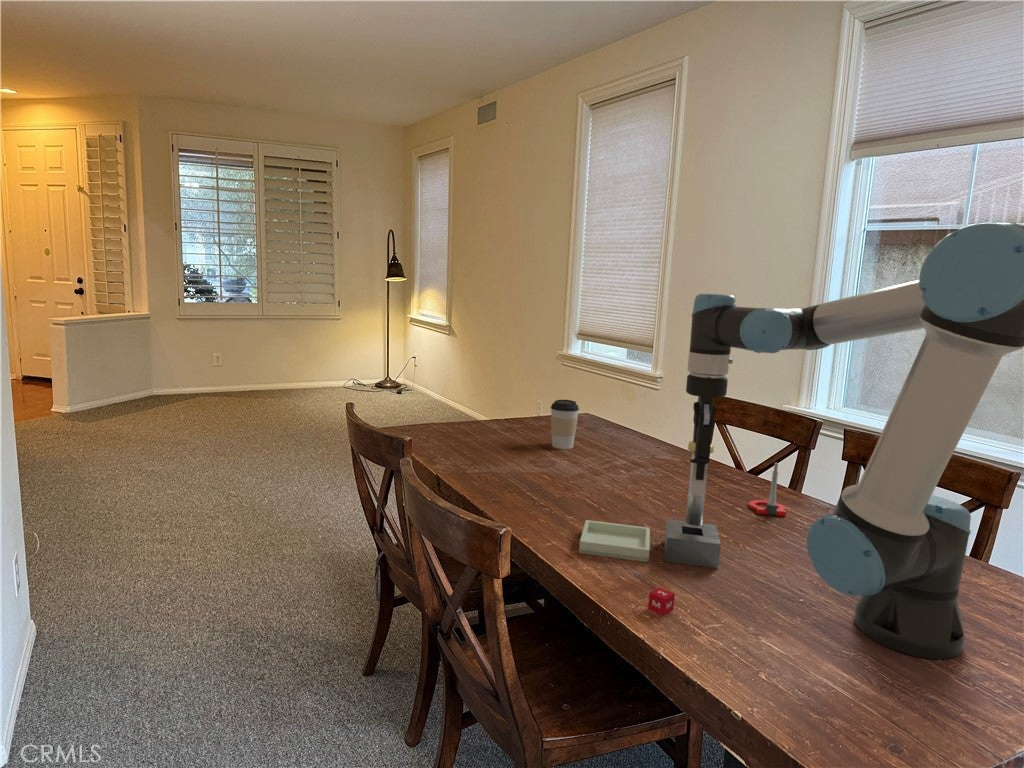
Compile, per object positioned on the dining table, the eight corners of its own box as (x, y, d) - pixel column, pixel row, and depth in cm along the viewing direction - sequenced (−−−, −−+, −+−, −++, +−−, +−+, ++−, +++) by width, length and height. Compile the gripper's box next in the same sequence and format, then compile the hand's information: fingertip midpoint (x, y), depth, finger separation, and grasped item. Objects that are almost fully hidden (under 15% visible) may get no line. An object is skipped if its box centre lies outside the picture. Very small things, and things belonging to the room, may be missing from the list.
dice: (648, 608, 109) (649, 592, 108) (657, 603, 111) (659, 586, 111) (663, 616, 107) (664, 599, 106) (673, 610, 109) (674, 593, 108)
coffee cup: (545, 448, 205) (547, 401, 202) (552, 441, 213) (554, 396, 210) (573, 451, 202) (576, 404, 199) (579, 444, 211) (582, 399, 208)
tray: (648, 562, 126) (649, 550, 126) (579, 552, 129) (579, 541, 129) (648, 538, 138) (649, 527, 137) (585, 530, 140) (585, 519, 140)
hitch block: (718, 568, 125) (720, 544, 124) (665, 561, 127) (667, 537, 126) (713, 547, 135) (715, 524, 134) (664, 541, 137) (666, 518, 136)
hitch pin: (707, 528, 127) (715, 448, 124) (682, 525, 128) (689, 446, 125) (705, 519, 131) (712, 442, 129) (681, 517, 132) (687, 440, 130)
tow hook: (745, 503, 164) (753, 514, 155) (750, 453, 162) (758, 462, 153) (779, 506, 163) (789, 518, 154) (785, 456, 161) (796, 465, 152)
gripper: (732, 382, 116) (720, 507, 120) (723, 370, 131) (712, 481, 135) (689, 379, 117) (678, 502, 121) (685, 367, 133) (676, 477, 137)
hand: (696, 491), depth 128 cm, fingers closed on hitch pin, 3 cm apart
